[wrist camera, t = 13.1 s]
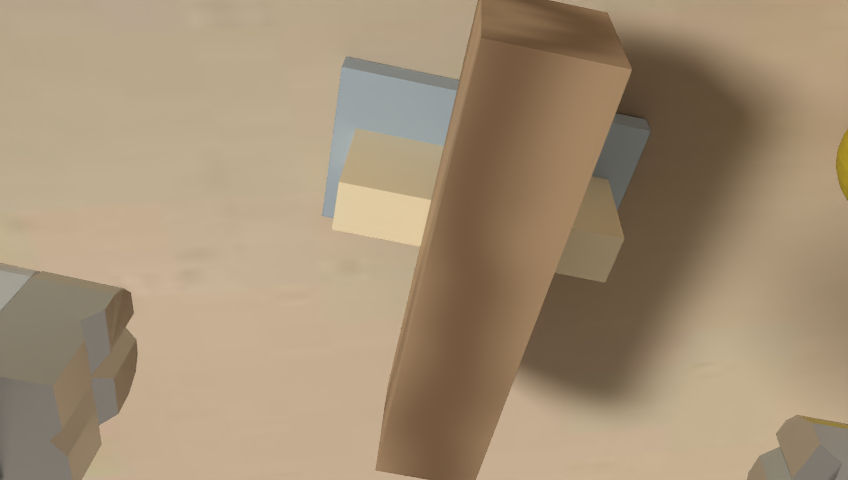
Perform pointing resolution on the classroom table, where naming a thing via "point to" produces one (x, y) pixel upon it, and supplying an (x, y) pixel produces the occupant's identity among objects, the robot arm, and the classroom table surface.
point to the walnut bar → (497, 225)
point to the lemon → (843, 164)
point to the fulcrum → (420, 158)
